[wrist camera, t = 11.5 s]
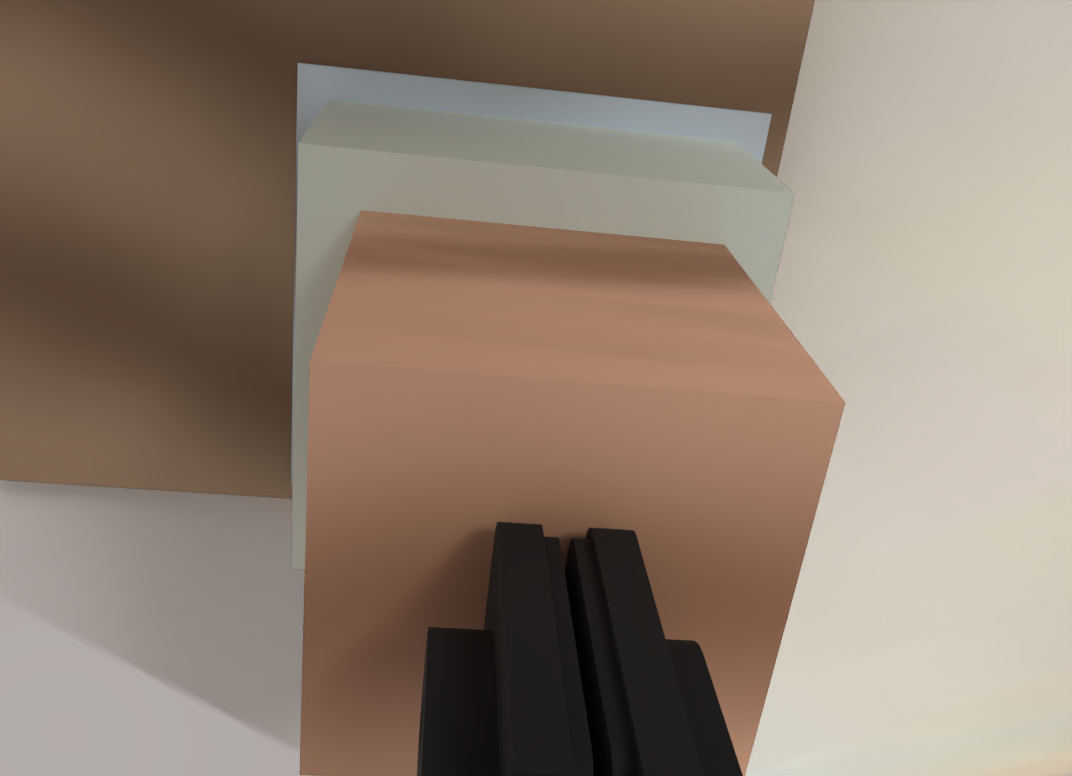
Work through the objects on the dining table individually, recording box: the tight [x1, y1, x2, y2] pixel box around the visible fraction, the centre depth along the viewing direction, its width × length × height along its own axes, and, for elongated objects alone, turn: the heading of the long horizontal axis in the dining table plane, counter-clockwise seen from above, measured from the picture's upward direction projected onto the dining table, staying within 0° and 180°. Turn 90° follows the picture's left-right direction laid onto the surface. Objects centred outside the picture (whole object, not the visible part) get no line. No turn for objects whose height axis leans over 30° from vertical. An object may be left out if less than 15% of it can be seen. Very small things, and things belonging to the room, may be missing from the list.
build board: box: [0, 0, 815, 499], centre depth 20 cm, size 20×16×1 cm
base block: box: [291, 99, 795, 570], centre depth 20 cm, size 8×8×4 cm
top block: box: [300, 210, 845, 776], centre depth 15 cm, size 6×6×6 cm
